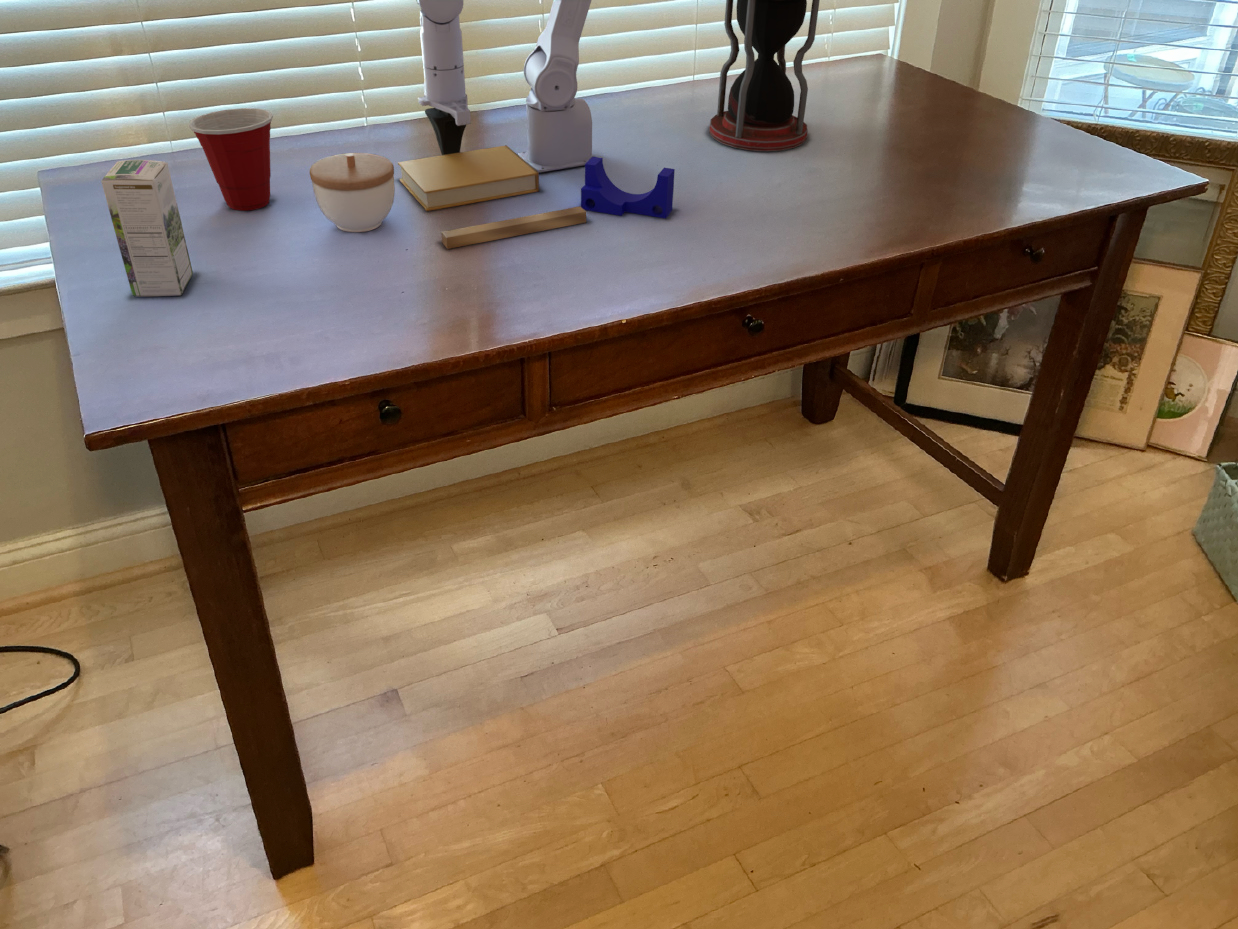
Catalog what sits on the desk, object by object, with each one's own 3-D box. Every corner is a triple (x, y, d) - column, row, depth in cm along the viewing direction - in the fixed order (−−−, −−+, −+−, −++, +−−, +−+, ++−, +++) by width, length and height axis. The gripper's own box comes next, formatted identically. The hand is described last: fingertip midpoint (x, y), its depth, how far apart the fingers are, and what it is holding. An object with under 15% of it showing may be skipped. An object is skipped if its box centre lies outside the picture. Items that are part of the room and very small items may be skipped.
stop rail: (580, 216, 142) (580, 205, 141) (586, 222, 140) (586, 211, 139) (442, 242, 134) (441, 231, 133) (447, 249, 133) (446, 237, 132)
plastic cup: (263, 181, 149) (247, 97, 142) (303, 203, 143) (288, 117, 136) (192, 200, 143) (172, 114, 136) (230, 225, 137) (211, 136, 129)
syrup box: (146, 275, 125) (113, 159, 116) (195, 274, 125) (167, 158, 117) (132, 297, 120) (97, 178, 112) (184, 296, 121) (153, 177, 112)
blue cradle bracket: (580, 209, 144) (581, 167, 140) (592, 197, 147) (592, 156, 144) (662, 222, 141) (664, 180, 137) (672, 210, 144) (674, 168, 141)
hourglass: (822, 130, 172) (846, -32, 156) (780, 159, 161) (801, -13, 145) (736, 111, 178) (751, -47, 163) (691, 138, 167) (702, -29, 152)
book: (507, 163, 157) (506, 145, 155) (539, 191, 148) (538, 172, 147) (399, 180, 150) (397, 161, 149) (426, 211, 142) (424, 191, 140)
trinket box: (381, 243, 133) (372, 174, 128) (304, 234, 135) (292, 165, 129) (411, 211, 142) (404, 144, 136) (338, 203, 143) (328, 136, 138)
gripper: (400, 53, 149) (409, 145, 157) (433, 82, 139) (441, 179, 147) (446, 48, 152) (453, 139, 160) (482, 76, 141) (487, 171, 150)
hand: (450, 158), depth 154 cm, fingers closed
